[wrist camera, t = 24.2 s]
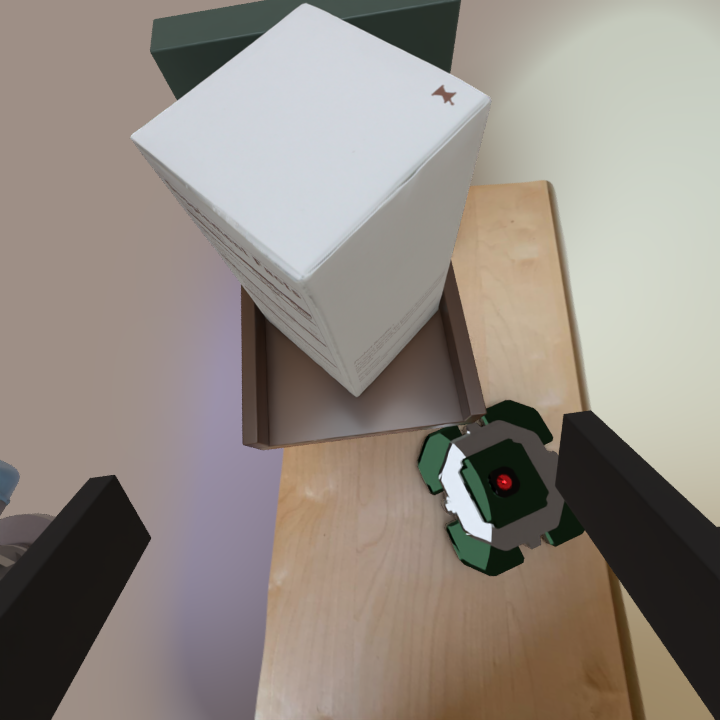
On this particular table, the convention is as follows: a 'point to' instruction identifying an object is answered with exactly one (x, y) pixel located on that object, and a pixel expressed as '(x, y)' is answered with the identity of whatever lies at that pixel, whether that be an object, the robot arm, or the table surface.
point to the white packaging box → (327, 183)
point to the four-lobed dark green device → (498, 487)
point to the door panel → (250, 21)
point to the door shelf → (377, 402)
